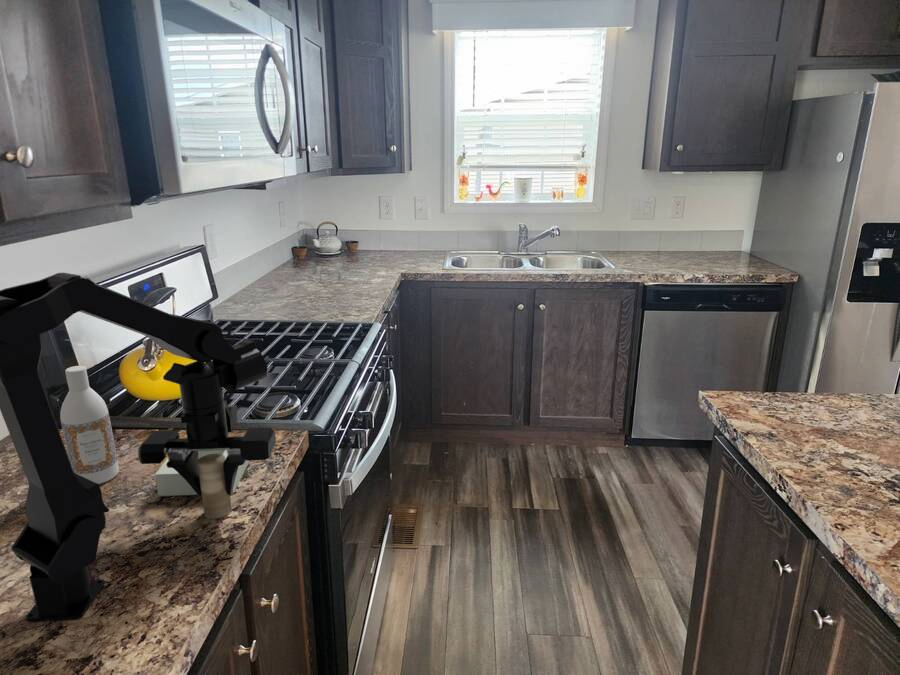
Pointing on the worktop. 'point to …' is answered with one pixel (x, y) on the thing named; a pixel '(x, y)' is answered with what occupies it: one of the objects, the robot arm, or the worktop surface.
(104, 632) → the worktop surface
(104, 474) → the bath foam
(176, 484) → the socket block
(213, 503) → the peg
